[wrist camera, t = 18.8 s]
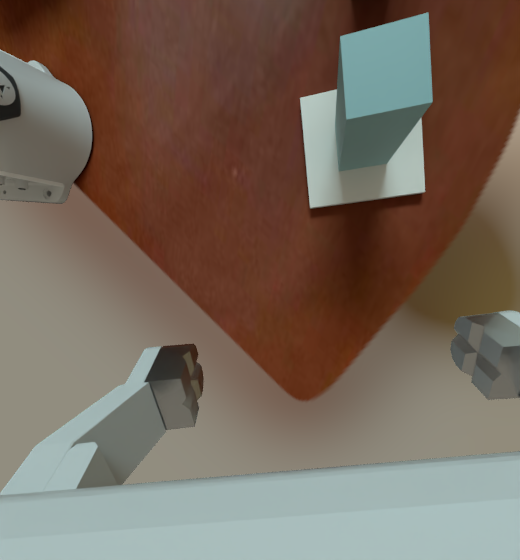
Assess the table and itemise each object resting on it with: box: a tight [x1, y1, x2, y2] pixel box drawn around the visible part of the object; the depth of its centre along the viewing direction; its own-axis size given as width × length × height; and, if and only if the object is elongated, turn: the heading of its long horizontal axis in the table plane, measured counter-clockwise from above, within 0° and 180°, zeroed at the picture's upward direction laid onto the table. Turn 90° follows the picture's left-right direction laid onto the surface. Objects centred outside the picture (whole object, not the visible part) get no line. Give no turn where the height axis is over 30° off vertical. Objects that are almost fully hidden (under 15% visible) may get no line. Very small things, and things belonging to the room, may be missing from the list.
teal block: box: [335, 13, 433, 171], centre depth 25 cm, size 5×5×14 cm
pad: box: [300, 90, 425, 209], centre depth 32 cm, size 12×12×1 cm
